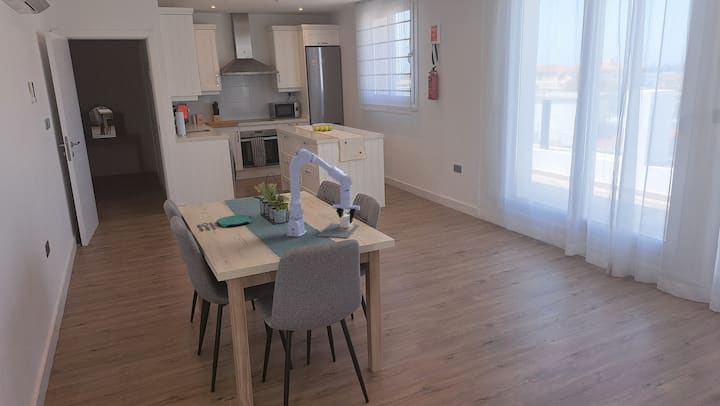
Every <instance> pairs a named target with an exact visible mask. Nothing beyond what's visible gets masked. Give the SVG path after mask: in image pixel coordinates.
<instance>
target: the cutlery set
mask: <svg viewBox="0 0 720 406" xmlns="http://www.w3.org/2000/svg"><path fill="white" fill-rule="evenodd" d="M252 222H253V217H252V216H250V215H249V214H237V215H231V216H224V217H221V218H219V219H216V223H217V225H219V226H221V227H223V228H227V227H228V226H229V227H233V226H240V225H244V224H247V223H252ZM209 224H210V225H211V227H212V228H214V230H217V228H216V227H215V225H214V224H213V222H209V223H206V222H205V223H202V224H197V225H196V226H197V228H199V229H200V230H201V232H204V230H205V229H204V228H202V227H206V228H207V230H208V231H210V230H211V228H210V227H209Z"/></svg>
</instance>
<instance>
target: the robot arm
mask: <svg viewBox="0 0 720 406" xmlns="http://www.w3.org/2000/svg"><path fill="white" fill-rule="evenodd" d="M309 163H310V164H316V165H318V166H319V167H321V168H322V169H324V170H325V171H327V175H328V176H329V177H330V178H331V179H333V180H335V181H336V182H338V183H339V184H340V185H339V187H340V189H339V196H340V197H339V199H340V204H332V210H336V213H337V215H338V217H339V219H340V218H341V217H342V216H343V215H344V210H348V212H349V214H350V223H352V222H353V223H354V216H355V213H356V211H360V209H361V206H360V205H355V204H352V186H351V185H352V184H353V181H352V178H351V177H350V176H349V175H348V174H346V173H347V172H345V171H342V170H341V169H340V167H339V166H338V165H330V164H329V163H327V162H326V161H324V160H323V159H322V158H321V157H319V156H318V155H317V154H315V153H313V152H311V151H309V150H308V149H306V148H299V150H297V151H296V152H295V153H294V156H293V157H292V159H291V161H290V162H289V167H288V168H289V182H290V183H289V184H290V205H289V206H288V210H289V212H290V215H289V216H288V217H289V220H288V222H287V224H286V225H287V233H286V237H302V236H303V235H304V234H306V233H308V230H305V219H304V218H305V217H304V209H303V207H302V203H301V201H302V200H301V187H300V185H301V184H300V181H301V180H300V169H301V168H302V167H303V166H304V165H306V164H309Z"/></svg>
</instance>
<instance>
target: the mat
mask: <svg viewBox="0 0 720 406" xmlns="http://www.w3.org/2000/svg"><path fill="white" fill-rule="evenodd" d="M359 226H360V225H359V224H354V223H353V224H352V225H351V226H350V227H349V228H344V227H340V223H335V222H334V223H332V222H331V223H329V224H328V225H327V226H326V227H325V228H324V229H322V230H321V231H320V232H319V233H317V235H316V237H320V238H335V239H348V238H350V237H351V235H352V234H353V233H354V232H355V231H356V230H357V228H358V227H359Z"/></svg>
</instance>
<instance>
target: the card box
mask: <svg viewBox="0 0 720 406" xmlns="http://www.w3.org/2000/svg"><path fill="white" fill-rule="evenodd" d="M339 221H340V222H339V224H340V227H344V228H349V227H350V226H351V225H352V224H354V221H353V222H352V223H350V213H349V214H347V213H343V216H342V217H341V218H340V217H339Z"/></svg>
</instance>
